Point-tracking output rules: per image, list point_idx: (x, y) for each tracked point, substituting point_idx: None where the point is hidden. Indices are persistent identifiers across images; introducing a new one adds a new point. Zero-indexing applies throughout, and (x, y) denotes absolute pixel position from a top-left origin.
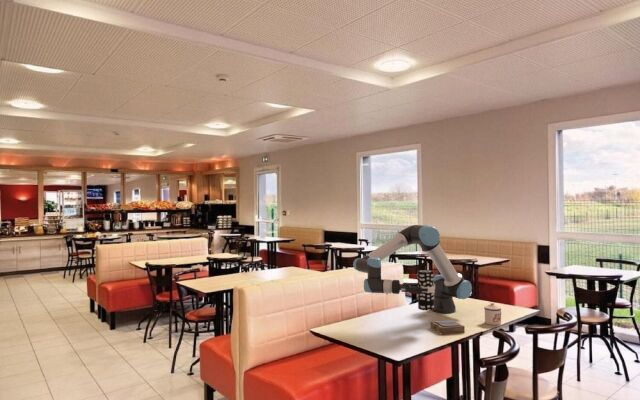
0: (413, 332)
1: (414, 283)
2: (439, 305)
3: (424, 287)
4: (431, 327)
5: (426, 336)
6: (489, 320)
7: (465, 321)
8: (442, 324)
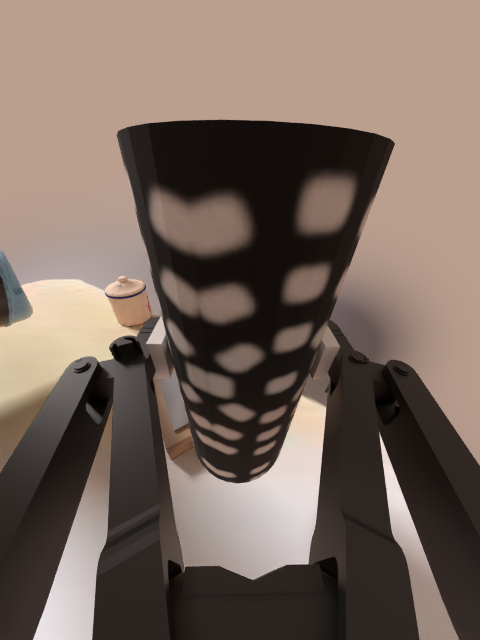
0: (253, 552)
1: (55, 451)
2: None
3: (328, 330)
4: (177, 454)
5: (289, 470)
6: (144, 314)
7: (106, 357)
8: None
